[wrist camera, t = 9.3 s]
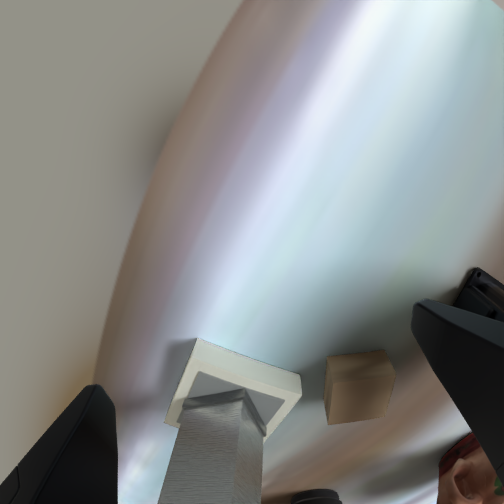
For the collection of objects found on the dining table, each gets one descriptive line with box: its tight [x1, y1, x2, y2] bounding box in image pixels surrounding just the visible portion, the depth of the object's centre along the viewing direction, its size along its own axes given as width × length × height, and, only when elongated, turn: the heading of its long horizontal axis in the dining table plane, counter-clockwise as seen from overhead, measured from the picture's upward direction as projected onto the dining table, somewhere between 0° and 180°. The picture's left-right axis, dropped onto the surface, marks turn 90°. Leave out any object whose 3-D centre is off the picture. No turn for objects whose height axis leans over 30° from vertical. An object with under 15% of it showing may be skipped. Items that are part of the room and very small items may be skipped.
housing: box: [158, 388, 267, 504], centre depth 17 cm, size 5×5×12 cm
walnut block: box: [323, 350, 396, 425], centre depth 23 cm, size 5×5×4 cm
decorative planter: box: [437, 433, 504, 504], centre depth 22 cm, size 20×12×14 cm, turn 62°
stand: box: [164, 338, 302, 443], centre depth 24 cm, size 9×9×3 cm
